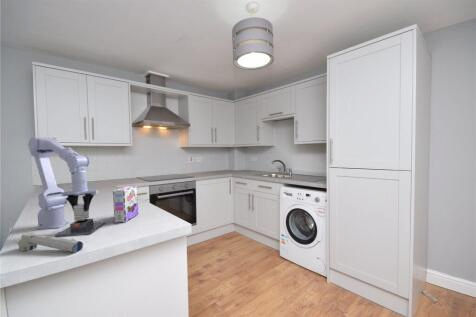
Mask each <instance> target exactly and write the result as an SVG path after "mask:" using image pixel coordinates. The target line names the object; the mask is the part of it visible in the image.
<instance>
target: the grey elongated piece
mask: <svg viewBox="0 0 476 317" xmlns="http://www.w3.org/2000/svg"><path fill="white" fill-rule="evenodd" d="M38 245H39V246H42V247H47V248H52V249H56V250H60V251H64V252H66V253H78V252H80V251H82V249H83V248H84V243H83V241H80V240H76V239H74V238H63V237H54V236H49V235H48V236H47V235H39V234H36V233H35V232H33V231H28V232H24V233H23V234H22V235H21V237H20V240H19V241H17V246H18V250H19V251H20V252H25V251H28V250H29V251H33V250H35V249H37V247H38Z"/></svg>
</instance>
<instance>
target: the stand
mask: <svg viewBox="0 0 476 317" xmlns="http://www.w3.org/2000/svg"><path fill="white" fill-rule="evenodd" d="M106 224H107V221H105V220H104V221H94V218H87V219H85V220H78V221H73V222H72V223H70V224H69V227H67V228H65V229H63V230H60V231H59V232H58V233H56V234H54V236H55V237H56V238H63V237H74V236H87V235H92V234H93V233H95V232H96V231H98V230H99V229H100V228H102V227H103V226H104V225H106Z"/></svg>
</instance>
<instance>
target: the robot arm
mask: <svg viewBox="0 0 476 317" xmlns="http://www.w3.org/2000/svg"><path fill="white" fill-rule="evenodd" d="M27 147H28V148H29V149H28V150H29V154H30V155H31V156H32V157H34V161H35V164H36V166H37V171H38V174H39V178H40V181H41V182H40V183H41V185H42V188H43V190H42V191H41V192H40V193H39V194H38V196H37V198H38V206H39V207H40V210H39V211H38V214H37V226H38V227H37V228H36V229H37V230H44V229H45V230H47V229H59V228H61V227H63V226H65V225H67V224H68V223H70V222H69V221H65V210H64V208H65V207H66V205H67V204H68V203H69V204H70V206H71V208H72V211H73V212H74V206H75V205H77V204H79V196H82V200H83V203H84V209H85V211H88V210H89V211H90V206H91V203H92V200H93V198H94V196H95V195H96V196H97V195H99V189H88V176H87V175H88V172H87V167H88V166H89V164H90V159H89V157H88V156H87V155H86V154H80V153H78V152H76V151H75V150H73V148H72V147H64V145H63V144H61V143H60V142H59V139H57V138H56V137H35V136H31V137H30V139H28V146H27ZM55 153H57V154H58V157H59V158H60V159H61V160H63V161H64V162H66V164H67V168H68V170H69V172H70V175H71V178H70V179H71V190H68V191H66V190H64V189H63V188H61V187H58V185H57V180H56V177H55V175H54V171H53V167H52V164H51V161H50V157H51V156H54V154H55Z"/></svg>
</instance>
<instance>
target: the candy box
mask: <svg viewBox="0 0 476 317" xmlns="http://www.w3.org/2000/svg"><path fill="white" fill-rule="evenodd" d="M112 197H113V219H114V220H113V221H114V223H115V224H117V223H120V224H121V223H122V224H123V223H127V222H129V221H130V220H131V219H133V218H136V217H137V216H138V215H139V204H138V203H139V202H138V200H139V199H138V198H139V197H138V186H137V185H135V186H134V185H132V186H129V185H128V186H125V187H121V188H117V189H113V191H112ZM136 215H137V216H136Z"/></svg>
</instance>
